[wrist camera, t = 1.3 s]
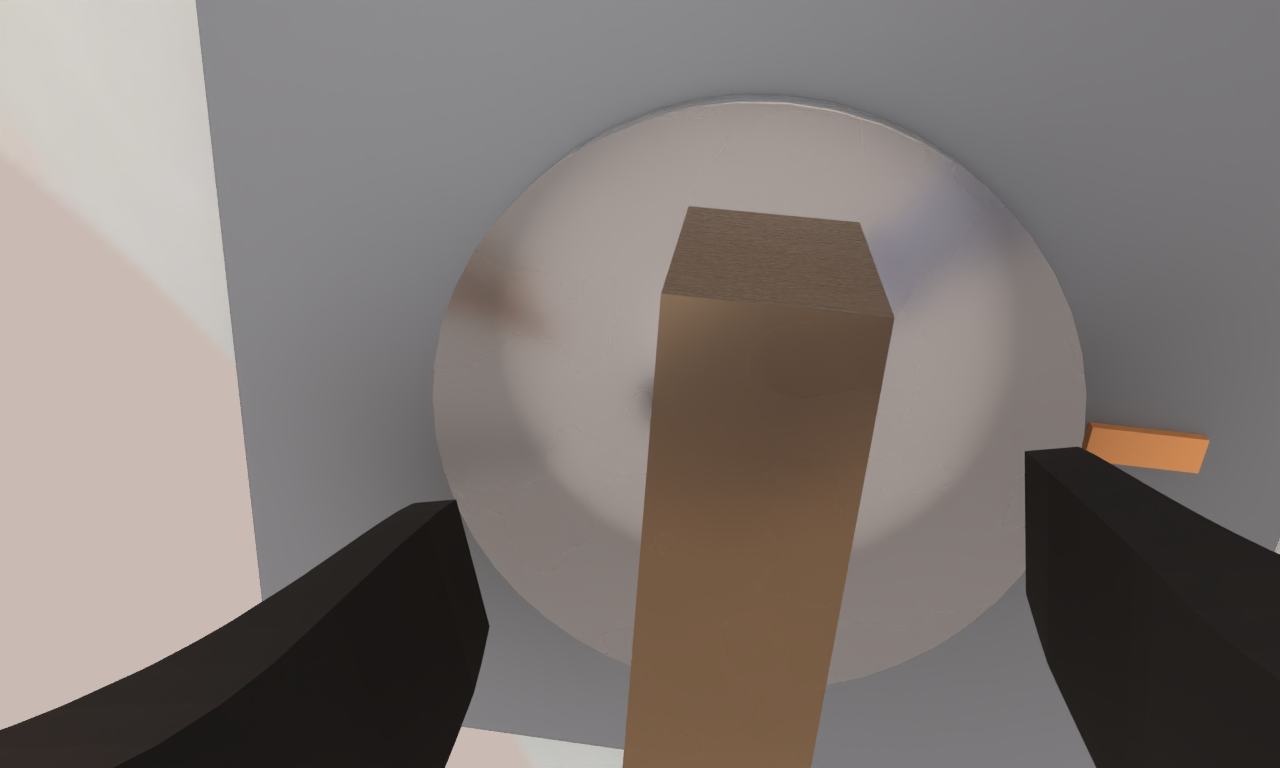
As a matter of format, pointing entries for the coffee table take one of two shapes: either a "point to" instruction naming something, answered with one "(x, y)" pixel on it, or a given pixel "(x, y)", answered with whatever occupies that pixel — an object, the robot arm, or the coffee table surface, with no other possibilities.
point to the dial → (753, 409)
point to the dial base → (715, 67)
